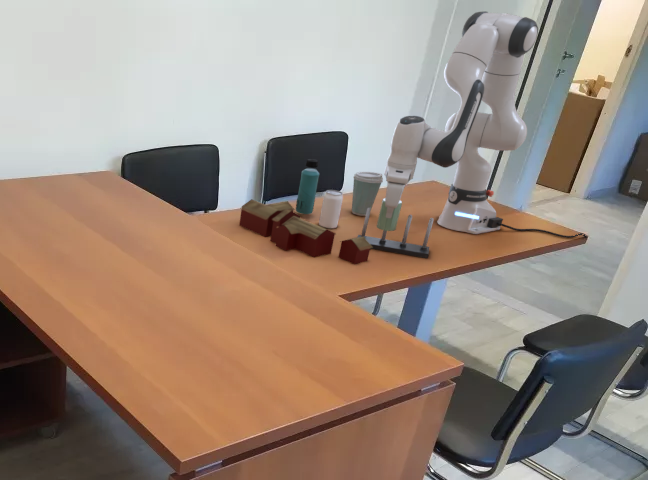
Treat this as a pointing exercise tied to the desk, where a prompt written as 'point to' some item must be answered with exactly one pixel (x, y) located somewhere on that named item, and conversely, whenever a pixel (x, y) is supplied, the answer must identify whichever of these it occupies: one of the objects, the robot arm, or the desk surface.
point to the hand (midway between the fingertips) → (389, 214)
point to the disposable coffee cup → (365, 191)
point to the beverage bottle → (307, 188)
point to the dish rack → (395, 245)
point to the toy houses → (298, 232)
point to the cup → (388, 223)
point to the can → (331, 209)
